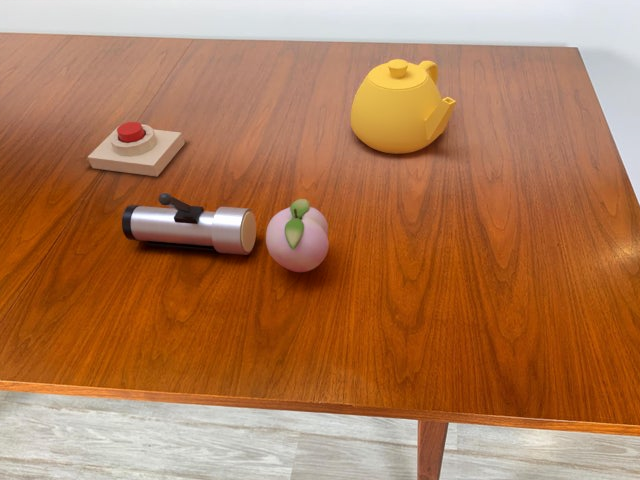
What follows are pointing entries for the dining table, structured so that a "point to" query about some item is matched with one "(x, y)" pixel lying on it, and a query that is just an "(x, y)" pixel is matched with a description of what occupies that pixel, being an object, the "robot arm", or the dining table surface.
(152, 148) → the beige dock base
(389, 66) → the teapot
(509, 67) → the dining table surface
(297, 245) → the decorative fruit
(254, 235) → the flashlight
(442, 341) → the dining table surface
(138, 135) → the dock button
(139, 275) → the dining table surface
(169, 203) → the flashlight switch
